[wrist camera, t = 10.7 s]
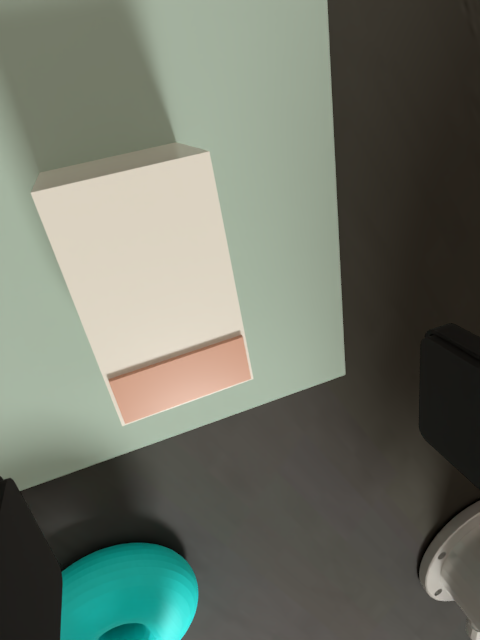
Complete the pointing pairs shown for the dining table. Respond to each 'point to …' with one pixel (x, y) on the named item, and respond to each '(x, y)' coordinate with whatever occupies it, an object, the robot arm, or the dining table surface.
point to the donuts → (128, 594)
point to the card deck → (148, 274)
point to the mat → (232, 186)
